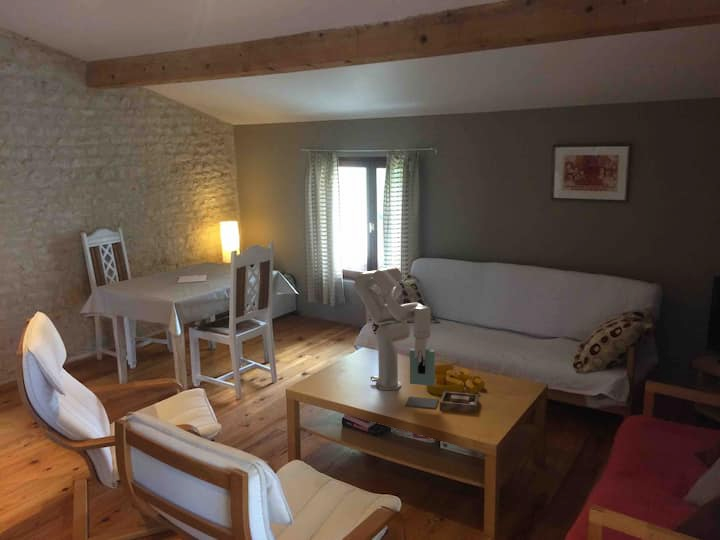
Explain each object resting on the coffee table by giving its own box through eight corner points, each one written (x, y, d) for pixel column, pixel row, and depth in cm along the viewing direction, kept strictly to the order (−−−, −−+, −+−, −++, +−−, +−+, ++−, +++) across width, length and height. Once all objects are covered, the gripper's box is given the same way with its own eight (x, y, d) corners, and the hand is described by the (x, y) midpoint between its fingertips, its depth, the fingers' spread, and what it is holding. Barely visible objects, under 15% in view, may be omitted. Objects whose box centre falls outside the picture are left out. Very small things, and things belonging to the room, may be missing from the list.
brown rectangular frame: (439, 409, 275) (439, 402, 274) (443, 398, 287) (443, 391, 286) (475, 413, 271) (475, 405, 270) (478, 401, 283) (478, 394, 282)
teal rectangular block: (410, 383, 280) (409, 350, 277) (411, 381, 283) (411, 348, 280) (433, 385, 277) (433, 351, 274) (434, 383, 280) (434, 349, 277)
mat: (404, 406, 279) (404, 404, 279) (409, 397, 289) (409, 396, 289) (435, 409, 275) (435, 407, 275) (438, 400, 285) (438, 399, 285)
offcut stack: (449, 408, 277) (449, 397, 276) (450, 405, 280) (450, 394, 279) (474, 410, 274) (474, 400, 273) (474, 407, 277) (475, 397, 276)
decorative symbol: (426, 363, 321) (484, 366, 315) (426, 372, 322) (484, 375, 316) (420, 384, 292) (484, 387, 286) (420, 394, 293) (484, 398, 287)
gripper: (417, 327, 284) (417, 365, 288) (410, 338, 269) (410, 377, 272) (433, 328, 282) (433, 366, 286) (427, 339, 267) (427, 379, 270)
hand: (422, 371), depth 279 cm, fingers closed on teal rectangular block, 3 cm apart
